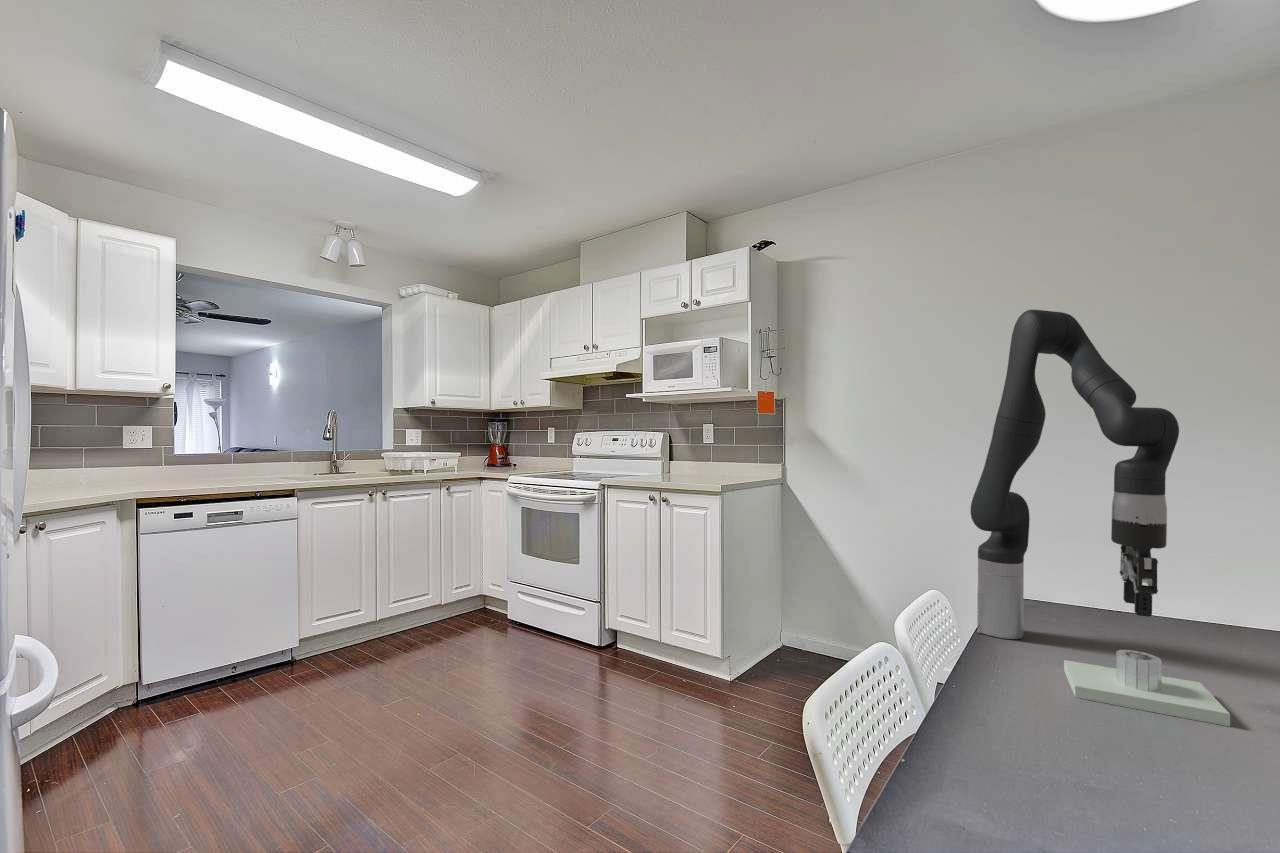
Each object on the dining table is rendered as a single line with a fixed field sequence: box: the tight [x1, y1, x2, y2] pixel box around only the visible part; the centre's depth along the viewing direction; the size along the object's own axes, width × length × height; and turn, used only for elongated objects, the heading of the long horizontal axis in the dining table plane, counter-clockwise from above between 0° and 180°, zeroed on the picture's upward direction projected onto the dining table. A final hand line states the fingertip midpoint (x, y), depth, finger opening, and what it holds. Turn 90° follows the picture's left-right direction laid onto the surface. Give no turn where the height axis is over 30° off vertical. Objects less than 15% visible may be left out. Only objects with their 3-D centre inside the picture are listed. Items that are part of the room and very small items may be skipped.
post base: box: [1063, 654, 1231, 727], centre depth 104 cm, size 20×14×7 cm
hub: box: [1115, 649, 1163, 692], centre depth 104 cm, size 6×6×5 cm
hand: (1137, 609), depth 105 cm, fingers open, 8 cm apart
